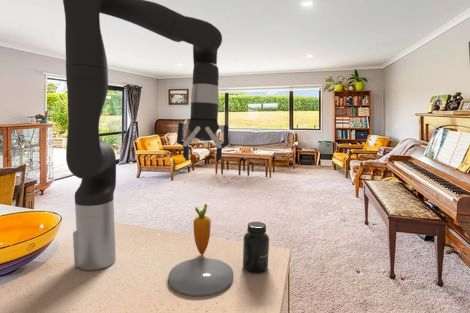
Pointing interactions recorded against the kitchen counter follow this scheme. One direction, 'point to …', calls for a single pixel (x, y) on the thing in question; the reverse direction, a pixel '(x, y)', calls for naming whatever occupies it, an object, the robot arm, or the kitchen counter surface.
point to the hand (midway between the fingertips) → (202, 160)
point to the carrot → (202, 230)
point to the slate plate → (200, 277)
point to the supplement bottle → (256, 248)
